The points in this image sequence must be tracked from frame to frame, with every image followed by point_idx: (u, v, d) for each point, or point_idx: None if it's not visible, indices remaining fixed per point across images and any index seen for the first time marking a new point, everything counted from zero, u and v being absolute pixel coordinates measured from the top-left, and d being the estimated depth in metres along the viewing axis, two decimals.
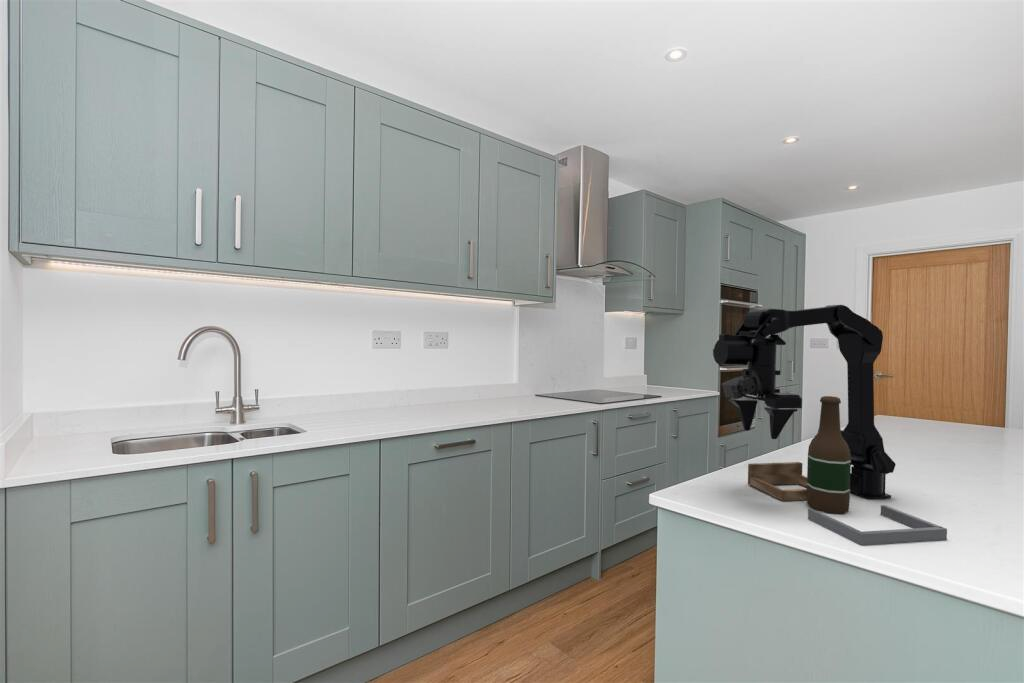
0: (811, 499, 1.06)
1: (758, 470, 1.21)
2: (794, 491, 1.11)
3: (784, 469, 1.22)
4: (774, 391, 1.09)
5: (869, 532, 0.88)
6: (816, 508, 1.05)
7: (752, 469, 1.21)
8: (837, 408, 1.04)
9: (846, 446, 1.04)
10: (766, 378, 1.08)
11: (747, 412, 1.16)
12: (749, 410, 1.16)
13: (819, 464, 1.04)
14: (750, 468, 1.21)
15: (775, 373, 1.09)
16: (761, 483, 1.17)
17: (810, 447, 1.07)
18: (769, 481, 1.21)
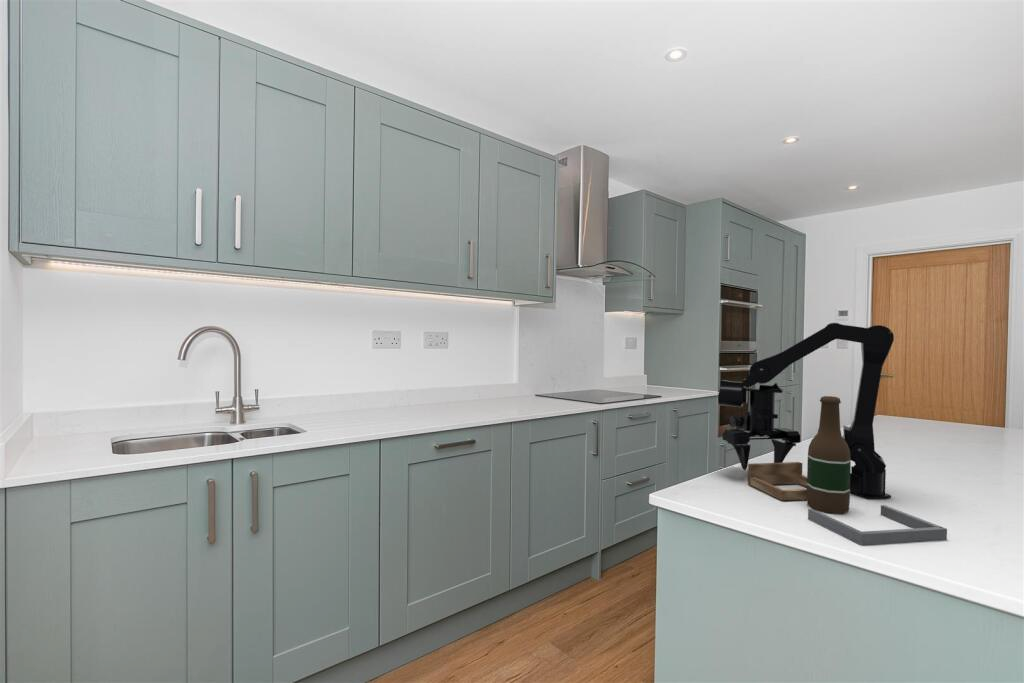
0: (811, 499, 1.06)
1: (758, 470, 1.21)
2: (794, 491, 1.11)
3: (784, 469, 1.22)
4: (756, 431, 1.26)
5: (869, 532, 0.88)
6: (816, 508, 1.05)
7: (752, 469, 1.21)
8: (837, 408, 1.04)
9: (846, 446, 1.04)
10: (750, 419, 1.28)
11: (777, 452, 1.29)
12: (779, 451, 1.28)
13: (819, 464, 1.04)
14: (750, 468, 1.21)
15: (757, 416, 1.26)
16: (761, 483, 1.17)
17: (810, 447, 1.07)
18: (769, 481, 1.21)
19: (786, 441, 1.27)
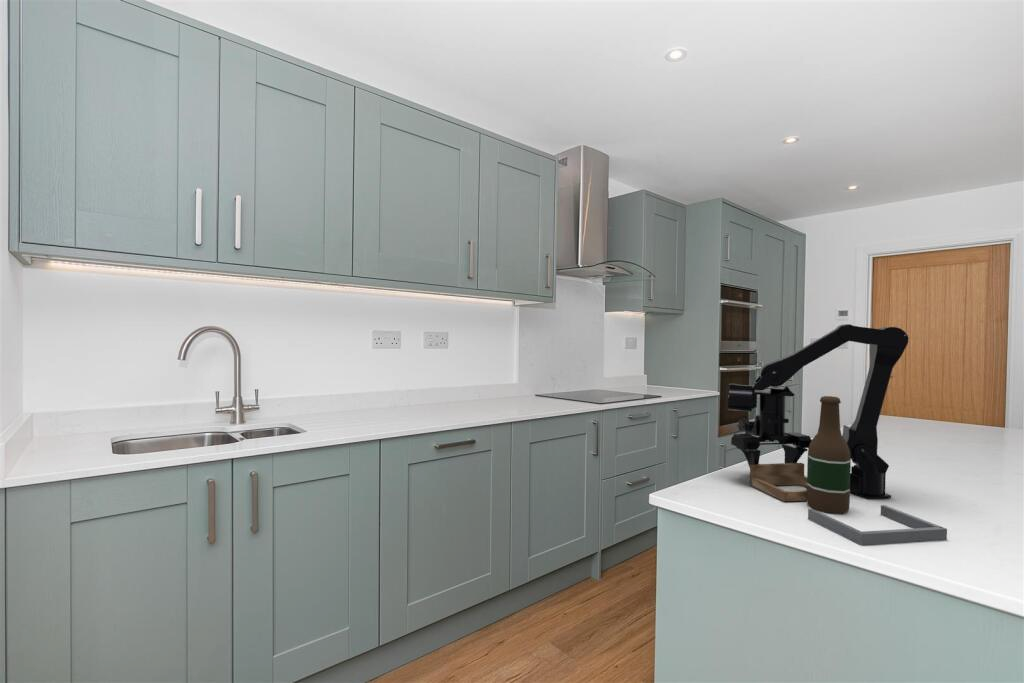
0: (811, 499, 1.06)
1: (760, 471, 1.20)
2: (796, 492, 1.10)
3: (786, 470, 1.21)
4: (766, 436, 1.22)
5: (869, 532, 0.88)
6: (816, 508, 1.05)
7: (754, 469, 1.20)
8: (837, 408, 1.04)
9: (846, 446, 1.04)
10: (760, 423, 1.24)
11: (788, 458, 1.25)
12: (790, 456, 1.24)
13: (819, 464, 1.04)
14: (752, 469, 1.20)
15: (767, 420, 1.22)
16: (763, 484, 1.16)
17: (810, 447, 1.07)
18: (771, 482, 1.21)
19: (797, 446, 1.23)
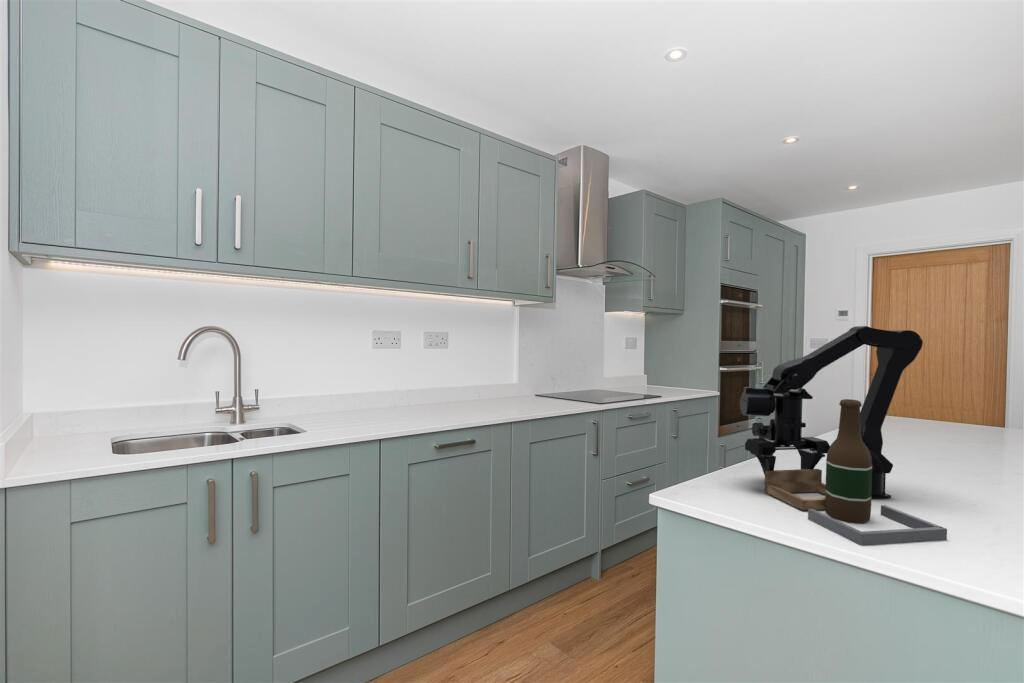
0: (831, 507, 1.01)
1: (775, 478, 1.15)
2: (815, 500, 1.04)
3: (803, 476, 1.16)
4: (782, 441, 1.17)
5: (869, 532, 0.88)
6: (836, 517, 1.00)
7: (769, 476, 1.15)
8: (858, 412, 1.00)
9: (867, 452, 0.99)
10: (775, 427, 1.19)
11: (804, 463, 1.19)
12: (806, 462, 1.19)
13: (840, 470, 0.99)
14: (767, 475, 1.15)
15: (783, 425, 1.16)
16: (779, 491, 1.11)
17: (829, 453, 1.02)
18: (787, 489, 1.15)
19: (814, 451, 1.18)
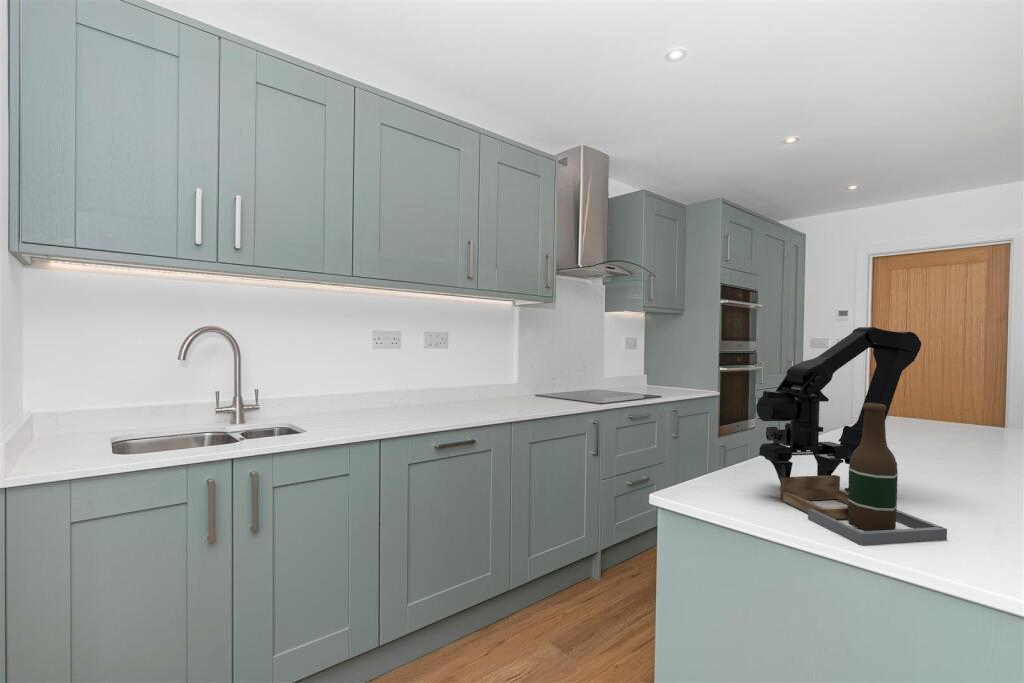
0: (856, 517, 0.95)
1: (792, 485, 1.10)
2: (835, 509, 0.99)
3: (820, 483, 1.11)
4: (798, 446, 1.11)
5: (869, 532, 0.88)
6: (862, 528, 0.94)
7: (785, 483, 1.09)
8: (883, 416, 0.95)
9: (893, 458, 0.94)
10: (791, 432, 1.13)
11: (821, 470, 1.14)
12: (824, 468, 1.13)
13: (866, 478, 0.94)
14: (783, 482, 1.10)
15: (800, 429, 1.11)
16: (796, 499, 1.06)
17: (852, 459, 0.97)
18: (804, 496, 1.10)
19: (832, 457, 1.13)
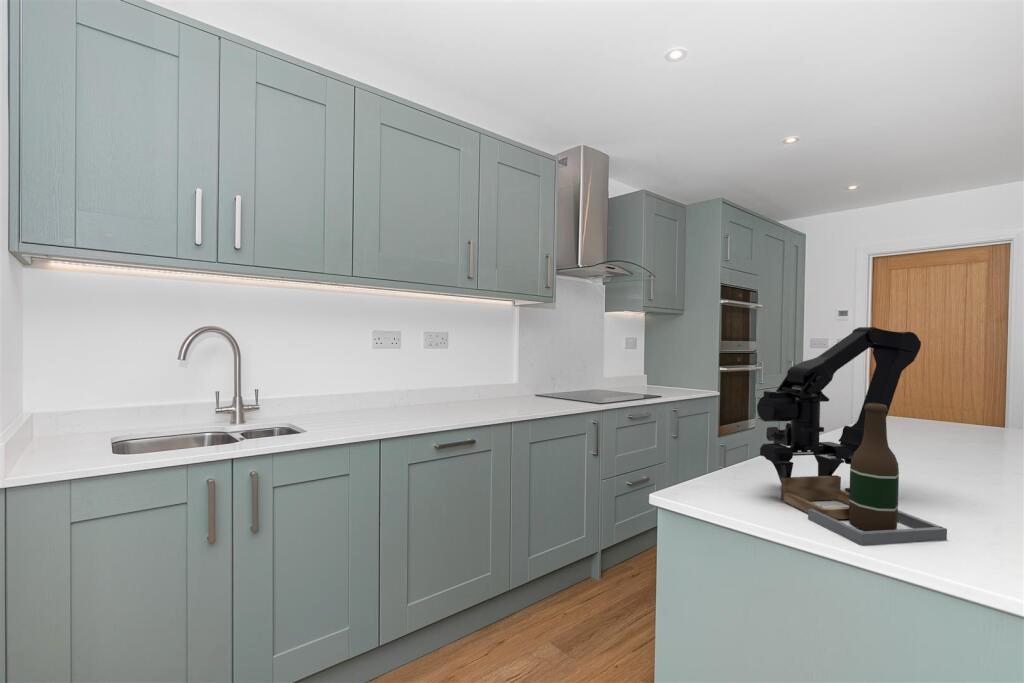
0: (857, 518, 0.95)
1: (792, 485, 1.09)
2: (836, 510, 0.99)
3: (821, 483, 1.11)
4: (799, 447, 1.11)
5: (869, 532, 0.88)
6: (863, 528, 0.94)
7: (786, 483, 1.09)
8: (884, 416, 0.94)
9: (894, 458, 0.94)
10: (791, 432, 1.13)
11: (822, 470, 1.14)
12: (824, 468, 1.13)
13: (867, 479, 0.94)
14: (784, 482, 1.09)
15: (800, 429, 1.11)
16: (797, 500, 1.05)
17: (854, 460, 0.96)
18: (805, 497, 1.10)
19: (832, 457, 1.13)
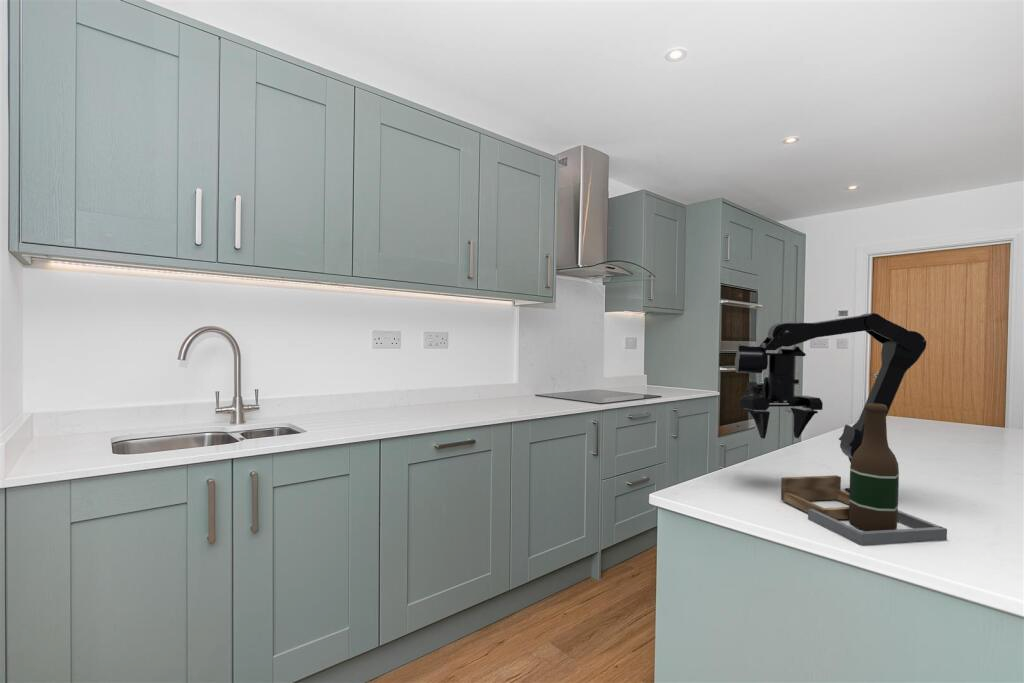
0: (857, 518, 0.95)
1: (792, 485, 1.09)
2: (836, 510, 0.99)
3: (821, 483, 1.11)
4: (776, 398, 1.19)
5: (869, 532, 0.88)
6: (863, 528, 0.94)
7: (786, 483, 1.09)
8: (884, 416, 0.94)
9: (894, 458, 0.94)
10: (769, 385, 1.21)
11: (797, 421, 1.21)
12: (799, 419, 1.21)
13: (867, 479, 0.94)
14: (784, 482, 1.09)
15: (777, 381, 1.18)
16: (797, 500, 1.05)
17: (854, 460, 0.96)
18: (805, 497, 1.10)
19: (807, 408, 1.20)
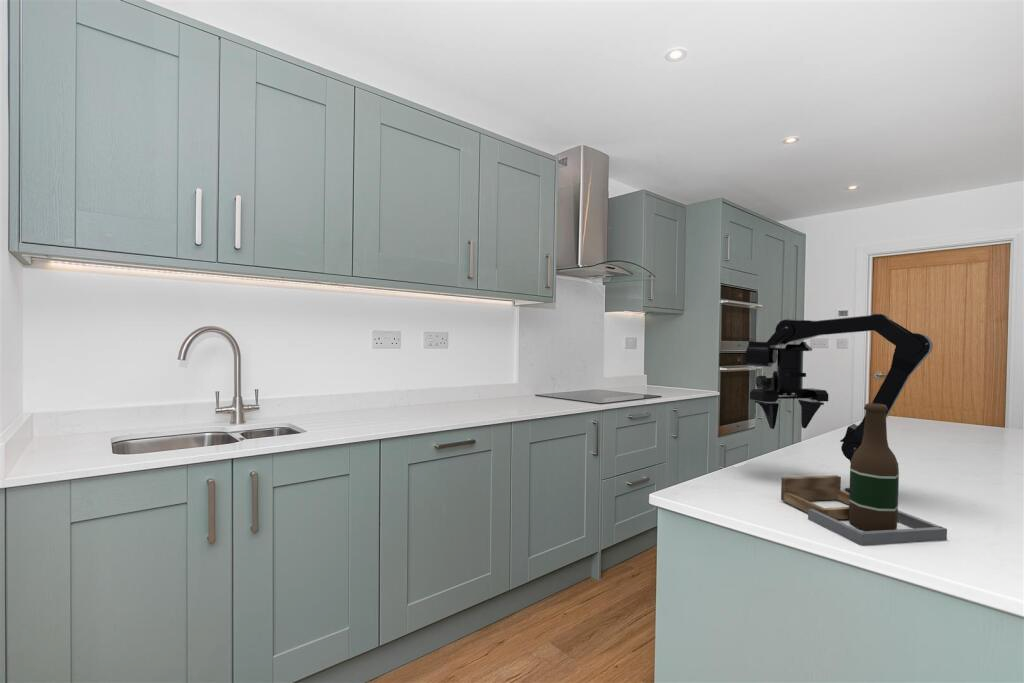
0: (857, 518, 0.95)
1: (792, 485, 1.09)
2: (836, 510, 0.99)
3: (821, 483, 1.11)
4: (784, 390, 1.26)
5: (869, 532, 0.88)
6: (863, 528, 0.94)
7: (786, 483, 1.09)
8: (884, 416, 0.94)
9: (894, 458, 0.94)
10: (777, 378, 1.28)
11: (804, 412, 1.29)
12: (807, 410, 1.28)
13: (867, 479, 0.94)
14: (784, 482, 1.09)
15: (785, 375, 1.26)
16: (797, 500, 1.05)
17: (854, 460, 0.96)
18: (805, 497, 1.10)
19: (814, 400, 1.27)
